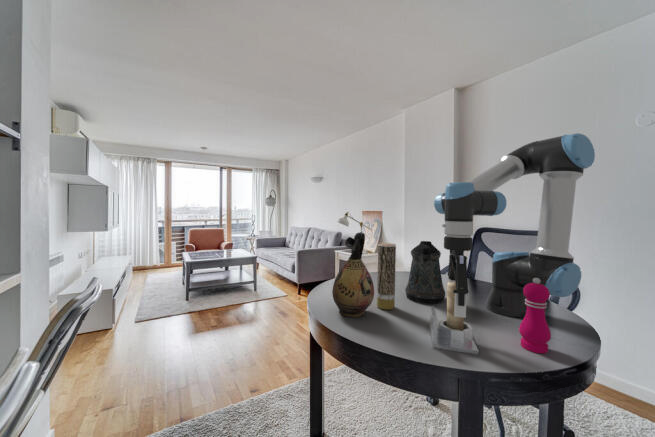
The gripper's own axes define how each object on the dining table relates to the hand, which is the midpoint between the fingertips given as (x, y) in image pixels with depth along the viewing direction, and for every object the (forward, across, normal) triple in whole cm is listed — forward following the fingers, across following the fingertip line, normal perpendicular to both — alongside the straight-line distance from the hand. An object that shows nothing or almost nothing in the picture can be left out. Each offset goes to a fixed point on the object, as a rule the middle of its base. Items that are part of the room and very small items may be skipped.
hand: (456, 308), depth 82 cm
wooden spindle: (+9, 0, 0) cm, 9 cm away
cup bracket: (+10, 0, 0) cm, 10 cm away
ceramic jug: (+10, -14, -33) cm, 37 cm away
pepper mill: (+10, -3, +21) cm, 23 cm away
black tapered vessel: (+10, -39, -6) cm, 41 cm away
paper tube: (+10, -23, -22) cm, 33 cm away
